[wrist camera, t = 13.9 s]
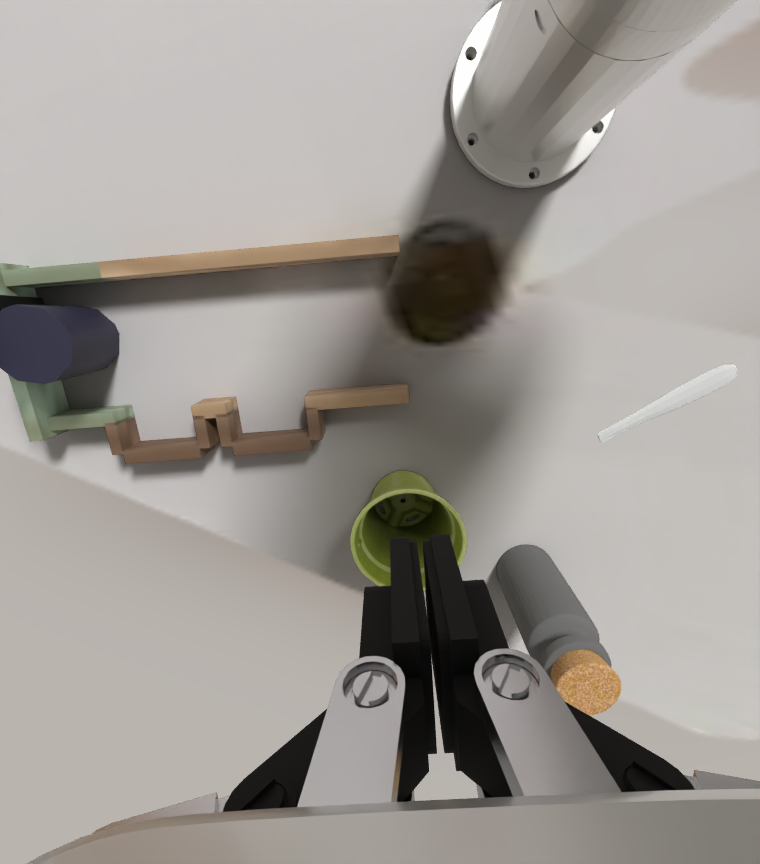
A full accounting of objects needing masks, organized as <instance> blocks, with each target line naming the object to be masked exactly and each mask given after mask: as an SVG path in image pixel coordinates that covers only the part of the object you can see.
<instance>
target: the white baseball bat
mask: <svg viewBox="0 0 760 864" xmlns="http://www.w3.org/2000/svg"><path fill="white" fill-rule="evenodd" d="M736 376H737V369H736V367H735V365H733V364H728V365H722V366H719V367H717V368H715V369H712V370H710V371H708V372H706V373H704V374H702V375H700V376H698V377H696V378H694V379H692V380H691V381H689V382H687V383H685V384H683V385H681V386H679V387H678V388H676V389H674V390H672V391H671V392H669V393H667V394H665V395H664V396H662V397H661V398H659V399H657V400H656V401H654V402H652V403H651V404H649V405H647V406H646V407H644V408H642V409H640V410H639V411H637V412H635V413H633V414H632V415H630V416H628V417H626V418H624V419H623V420H621V421H619V422H617V423H616V424H614V425H612V426H610V427H608V428H607V429H605V430H603V431H601V432H600V433H598V434H597V435H598V437H599V439H600V441H601V443H604V442H606V441H608V440H610V439H611V438H613V437H615V436H616V435H618V434H620V433H622V432H624V431H626V430H628V429H630V428H632V427H634V426H636V425H638V424H640V423H642V422H645V421H647V420H649V419H652V418H654V417H657V416H659V415H661V414H664V413H667V412H669V411H672V410H674V409H677V408H679V407H681V406H684V405H686V404H688V403H690V402H692V401H695V400H697V399H699V398H701V397H703V396H705V395H707V394H709V393H711V392H713V391H715V390H717V389H719V388H721V387H723V386H725V385H726V384H728V383H729V382H730V381H731V380H732V379H734V378H735V377H736Z"/></svg>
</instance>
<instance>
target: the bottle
mask: <svg viewBox="0 0 760 864" xmlns="http://www.w3.org/2000/svg"><path fill="white" fill-rule="evenodd" d="M497 577H498V580H499V582H500V585H501V588H502V590H503V593H504V595H505V597H506V600H507V602H508V605H509V607H510V610H511V612H512V614H513V617H514V619H515V622H516V624H517V626H518V629H519V631H520V634H521V636H522V639H523V641H524V643H525V646H526V648H527V650H528V652H529V654H530V656H531V657H532V658H533V659H535V660H536V661H537V662H538V663H539V664H540V665H541V666H542V667H543V669H544V670H545V672H546V673H547V675H548V676H549V678H550V679H551V681H552V683H553V684H554V686H555V687H556V689H557V690H558V692H559V694H560V695H561V697H562V698H563V700H564V701H565V702H567V703H569V704H570V705H572V706H574V707H575V708H577V709H579V710H581V711H582V712H584V713H586V714H587V715H594V714H598V713H601V712H603V711H605V710H607V709H608V708H610V707H611V706H612V705H613V704H614V703H615V702H616V701H617V699H618V697H619V695H620V693H621V681H620V678H619V676H618V675H617V673H616V672H615V671H614V670H613V669H612V668H611V660H610V658H609V655H608V653H607V652H606V650H605V649H604V647H603V646H602V645H601V644H600V643H599V634H598V631H597V629H596V627H595V625H594V623H593V622H592V620H591V619H590V617H589V615H588V614H587V612H586V611H585V609H584V608H583V606H582V605H581V603H580V602H579V600H578V599H577V597H576V595H575V594H574V592H573V591H572V589H571V588H570V586H569V585H568V583H567V582H566V580H565V579H564V577H563V576H562V574H561V573H560V571H559V570H558V568H557V567H556V565H555V564H554V562H553V561H552V559H551V558H550V556H549V555H548V554H547V553H546V552H545V551H544V550H543V549H541V548H539V547H537V546H533V545H519V546H516V547H513V548H511V549H510V550H508V551H507V552H505V553H504V554H503V555H502V557H501V558H500V560H499V562H498V565H497Z"/></svg>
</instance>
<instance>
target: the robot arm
mask: <svg viewBox="0 0 760 864" xmlns="http://www.w3.org/2000/svg"><path fill="white" fill-rule="evenodd" d="M736 1H737V0H501V1H500V2H498V3H497V4H496V5H495V6H493V7H492V8H491V9H490V10H489V11H487V12H486V13H485V14H484V15H483V17H482V18H481V19H480V20H479V21H478V22H477V24H476V25H475V26H474V27H473V29H472V30H471V32H470V34H469V35H468V37H467V39H466V40H465V42H464V44H463V46H462V49H461V51H460V54H459V56H458V59H457V62H456V65H455V69H454V72H453V76H452V82H451V90H450V115H451V120H452V125H453V130H454V133H455V135H456V138H457V141H458V143H459V146H460V148H461V149H462V151H463V152H464V154H465V156H466V157H467V159H468V160H469V161H470V162H471V163H472V165H473V166H474V167H475V168H476V169H477V170H478V171H479V172H481V173H482V174H483V175H485V176H486V177H488V178H489V179H491V180H493V181H495V182H498V183H500V184H502V185H505V186H511V187H516V188H532V187H538V186H542V185H546V184H549V183H551V182H554V181H556V180H558V179H560V178H562V177H564V176H565V175H567V174H568V173H570V172H571V171H573V170H574V169H575V168H577V167H578V166H579V165H580V164H581V163H582V162H584V161H585V160H586V159H587V158H588V157H589V156H590V154H591V153H592V152H593V151H594V150H595V148H596V147H597V146H598V145H599V143H600V142H601V140H602V138H603V137H604V135H605V134H606V132H607V130H608V128H609V125H610V123H611V120H612V118H613V115H614V113H615V109H616V107H617V106H618V105H619V104H620V103H621V102H622V101H624V100H625V99H626V98H627V97H628V96H629V95H630V94H632V93H633V92H634V91H635V90H636V89H637V88H639V87H640V86H641V85H642V84H643V83H644V82H645V81H647V80H648V79H649V78H650V77H651V76H652V75H654V74H655V73H656V72H657V71H658V70H659V69H661V68H662V67H663V66H664V65H665V64H666V63H667V62H669V61H670V60H671V59H672V58H673V57H674V56H676V55H677V54H678V53H679V52H680V51H681V50H683V49H684V48H685V47H686V46H687V45H688V44H689V43H691V42H692V41H693V40H694V39H695V38H696V37H698V36H699V35H700V34H701V33H702V32H703V31H705V30H706V29H707V28H708V27H709V26H710V25H711V24H712V23H713V22H714V21H716V20H717V19H718V18H719V17H720V16H721V15H722V14H724V13H725V12H726V11H727V10H728V9H729V8H730V7H731V6H732V5H733V4H734V3H735V2H736ZM467 57H471V58H472V61H469V60H467V59H466V58H467ZM592 128H594V129H595V133H594V132H593V131H592ZM469 140H472V141H473V143H474V144H473V145H472V146H471V145H469V144H468V141H469ZM530 173H531V174H533V179H531V178H530V177H529V174H530ZM423 557H424V573H425V590H426V606H427V614H426V606H425V599H424V592H423V584H422V577H421V569H420V562H419V554H418V547H417V541H414V542H409V537H396V538H390V572H391V585H390V586H374V587H365V590H364V602H363V616H362V629H361V643H360V656H359V659H357V660H354V661H353V662H351V663H350V664H348V665H347V666H346V667H345V668H344V669H343V670H342V671H341V672H340V674H339V676H338V678H337V680H336V682H335V685H334V689H333V692H332V695H331V698H330V702H329V705H328V708H327V709H326V710H325V711H324V712H323V713H322V714H320V715H319V716H318V717H317V718H316V719H314V720H313V721H312V722H311V723H310V724H309V725H307V726H306V727H305V728H304V729H303V730H301V731H300V732H299V733H298V734H297V735H296V736H294V737H293V738H292V739H291V740H290V741H289V742H287V743H286V744H285V745H284V746H283V747H281V748H280V749H279V750H278V751H277V752H275V753H274V754H273V755H272V756H271V757H270V758H269V759H267V760H266V761H265V762H264V763H263V764H261V765H260V766H259V767H258V768H257V769H255V770H254V771H253V772H252V773H251V774H250V775H248V776H247V777H246V778H245V779H244V780H243V781H242V782H241V783H240V784H239V785H238V786H237V787H236V788H235V789H234V790H233V792H232V793H231V795H230V796H227V797H224V798H220V799H218V797H217V793H213V794H210V795H206V796H203V797H199V798H196V799H193V800H189V801H186V802H183V803H179V804H176V805H172V806H169V807H166V808H162V809H158V810H155V811H152V812H148V813H145V814H142V815H138V816H134V817H131V818H128V819H124V820H121V821H118V822H114V823H111V824H109V825H107V826H105V827H102V828H100V829H98V830H96V831H95V832H94V833H92V834H91V835H88V836H84V837H81V838H79V839H77V840H75V841H72V842H70V843H68V844H65V845H63V846H61V847H59V848H56V849H54V850H52V851H50V852H47V853H46V854H43V855H41V856H39V857H38V858H36V859H34V860H32V861H30V862H29V863H27V864H760V781H755V780H749V779H743V778H738V777H732V776H726V775H721V774H715V773H709V772H703V771H698V770H694V775H693V777H691V776H685V775H683V774H682V773H681V772H680V771H679V770H678V769H677V768H675V767H674V766H672V765H671V764H670V763H668V762H667V761H666V760H664V759H663V758H661V757H659V756H657V755H656V754H654V753H652V752H651V751H649V750H647V749H645V748H644V747H642V746H640V745H639V744H637V743H635V742H633V741H632V740H630V739H628V738H627V737H625V736H623V735H621V734H620V733H618V732H616V731H615V730H613V729H611V728H610V727H608V726H606V725H604V724H603V723H601V722H599V721H598V720H596V719H594V718H592V717H591V716H589V715H587V714H586V713H584V712H582V711H581V710H579V709H577V708H575V707H574V706H572V705H570V704H569V703H567V702H565V701H564V700H563V698H562V697H561V695H560V694H559V692H558V690H557V689H556V687H555V686H554V684H553V683H552V681H551V679H550V678H549V676H548V675H547V673H546V672H545V670H544V669H543V667H542V666H541V665H540V664H539V663H538V662H537V661H536V660H535V659H533V658H532V657H531V656H529V655H528V654H525V653H523V652H520V651H518V650H513V649H509V647H508V644H507V641H506V639H505V636H504V633H503V630H502V628H501V625H500V622H499V619H498V617H497V614H496V611H495V608H494V606H493V603H492V600H491V597H490V595H489V592H488V589H487V586H486V584H485V582H484V580H470V581H462V577H461V574H460V570H459V567H458V563H457V560H456V556H455V553H454V549H453V546H452V542H451V538H450V535H449V534H441V535H430V540H429V541H423ZM431 656H432V663H433V671H434V678H435V686H436V694H437V701H438V709H439V716H440V724H441V731H442V739H443V746H444V752H445V753H454V758H455V764H456V771H462V772H463V773H464V774H465V775H467V776H468V777H469V778H470V779H471V780H473V781H474V782H475V783H476V784H477V792H478V798H473V799H453V800H452V799H451V800H430V801H415V800H414V789H415V787H416V786H417V785H418V784H419V782H420V781H421V780H422V779H423V778H424V777H425V775H426V774H427V773H428V772H429V763H428V754H436V753H437V748H436V731H435V714H434V697H433V680H432V665H431Z"/></svg>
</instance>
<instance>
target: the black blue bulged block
mask: <svg viewBox="0 0 760 864" xmlns="http://www.w3.org/2000/svg"><path fill="white" fill-rule="evenodd" d="M118 354H119V332H118V330H117V328H116V326H115V324H114V323H113V322H111V321H110V320H109V319H108V318H107V317H106V316H104V315H103V314H102V313H101V312H100V311H99V310H96V309H90V308H84V307H78V306H53V305H44V302H43V299H42V298H37V297H22V296H8V295H0V368H1V369H2V370H4V371H5V372H6V373H8V374H9V375H10V376H12V377H13V378H14V379H16V380H17V381H23V382H31V383H38V384H47V383H51V382H55V381H59V380H62V379H66V378H70V377H74V376H78V375H82V374H86V373H90V372H93V371H97V370H100V369H103V368H106V367H107V366H108V365H109V364H110V363H111V362H112V360H113V359H114V358H115V357H116V356H117V355H118Z"/></svg>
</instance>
